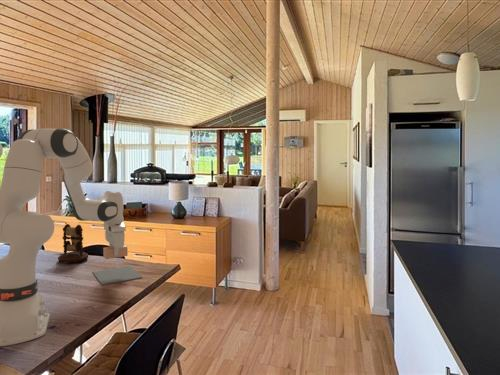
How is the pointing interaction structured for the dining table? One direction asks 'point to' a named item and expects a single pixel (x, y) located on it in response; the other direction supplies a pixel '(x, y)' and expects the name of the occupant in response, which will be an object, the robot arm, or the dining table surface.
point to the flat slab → (116, 275)
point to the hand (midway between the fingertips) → (114, 253)
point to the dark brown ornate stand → (73, 245)
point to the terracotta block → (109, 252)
